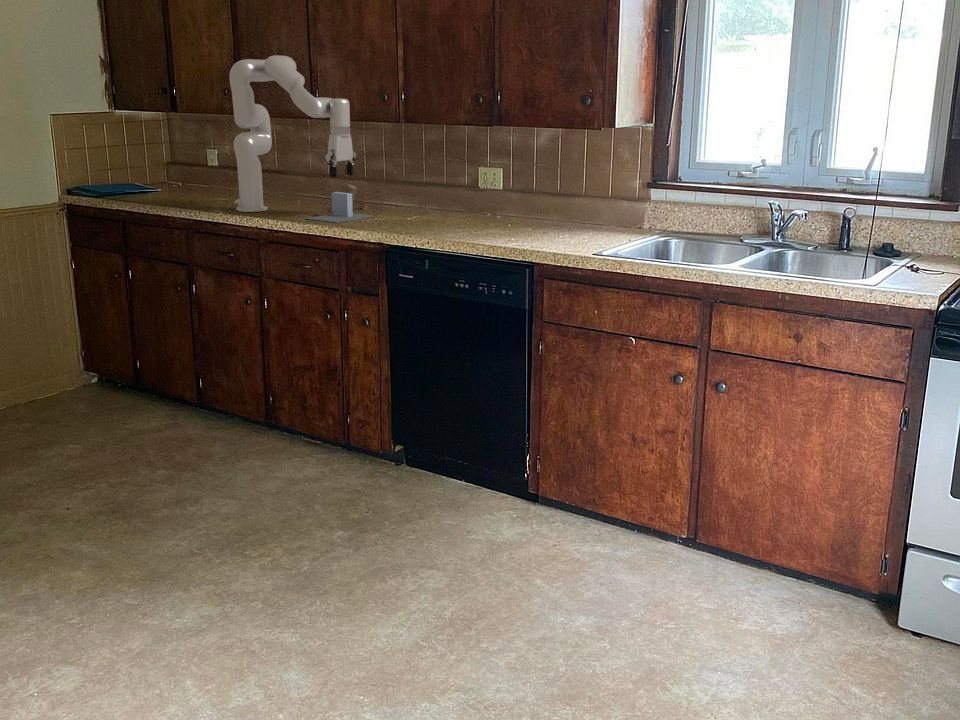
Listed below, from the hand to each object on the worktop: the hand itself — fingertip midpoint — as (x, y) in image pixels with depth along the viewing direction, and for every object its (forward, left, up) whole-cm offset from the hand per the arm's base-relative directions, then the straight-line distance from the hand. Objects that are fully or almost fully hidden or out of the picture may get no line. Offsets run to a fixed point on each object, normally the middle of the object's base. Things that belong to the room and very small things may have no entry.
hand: (341, 176), depth 374 cm
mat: (+1, -3, -16) cm, 16 cm away
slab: (0, 0, -16) cm, 16 cm away
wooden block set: (-10, +15, -17) cm, 24 cm away
